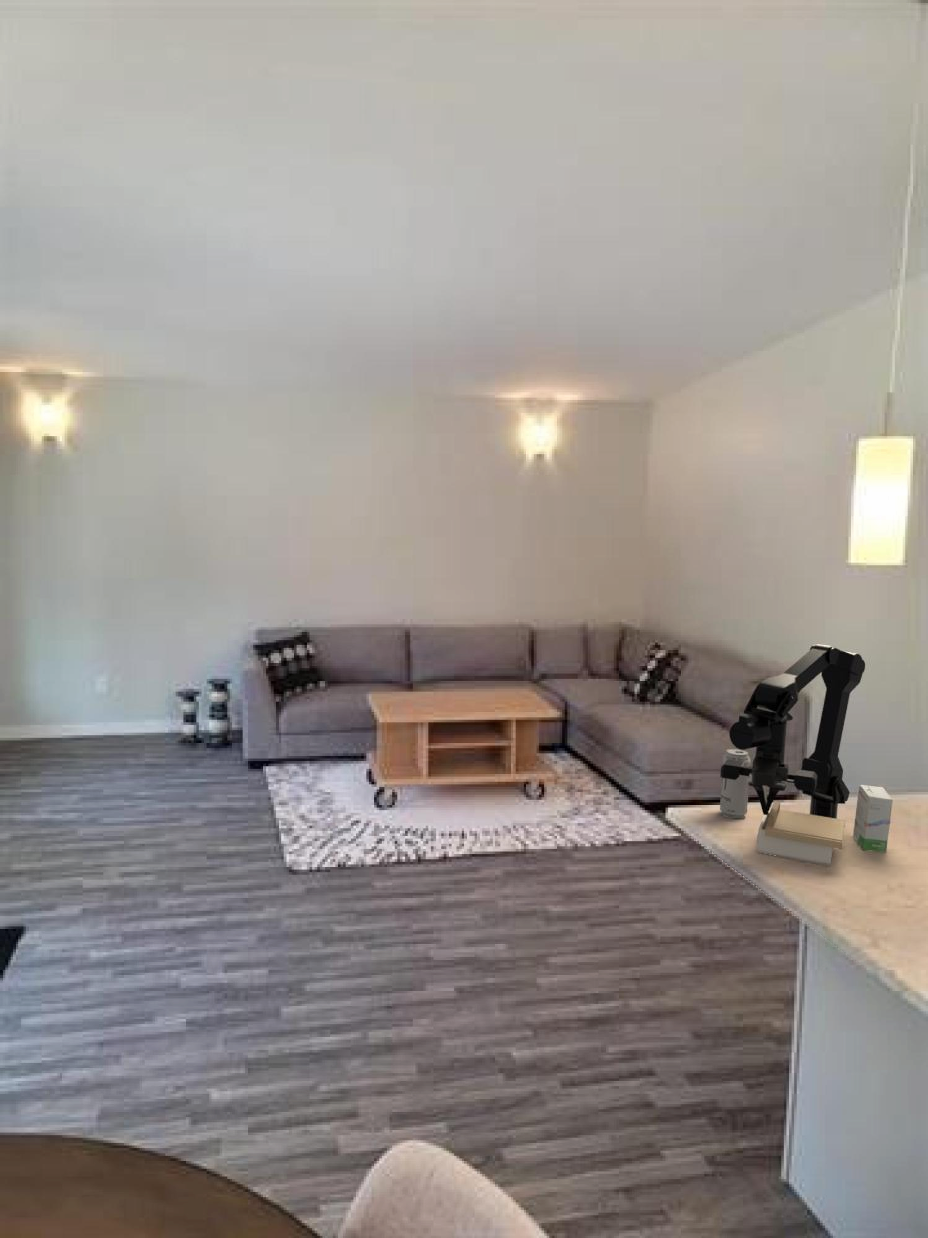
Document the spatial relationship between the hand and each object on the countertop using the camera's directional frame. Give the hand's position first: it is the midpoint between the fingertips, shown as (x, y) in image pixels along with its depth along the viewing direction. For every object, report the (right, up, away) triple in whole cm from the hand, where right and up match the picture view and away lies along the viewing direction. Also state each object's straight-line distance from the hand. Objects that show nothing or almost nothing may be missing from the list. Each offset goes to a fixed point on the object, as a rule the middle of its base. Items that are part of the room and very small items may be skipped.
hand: (765, 814), depth 185 cm
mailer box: (+6, -7, -2) cm, 9 cm away
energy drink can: (-1, -4, +18) cm, 18 cm away
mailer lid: (+7, -3, -3) cm, 8 cm away
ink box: (+23, -7, +2) cm, 24 cm away
